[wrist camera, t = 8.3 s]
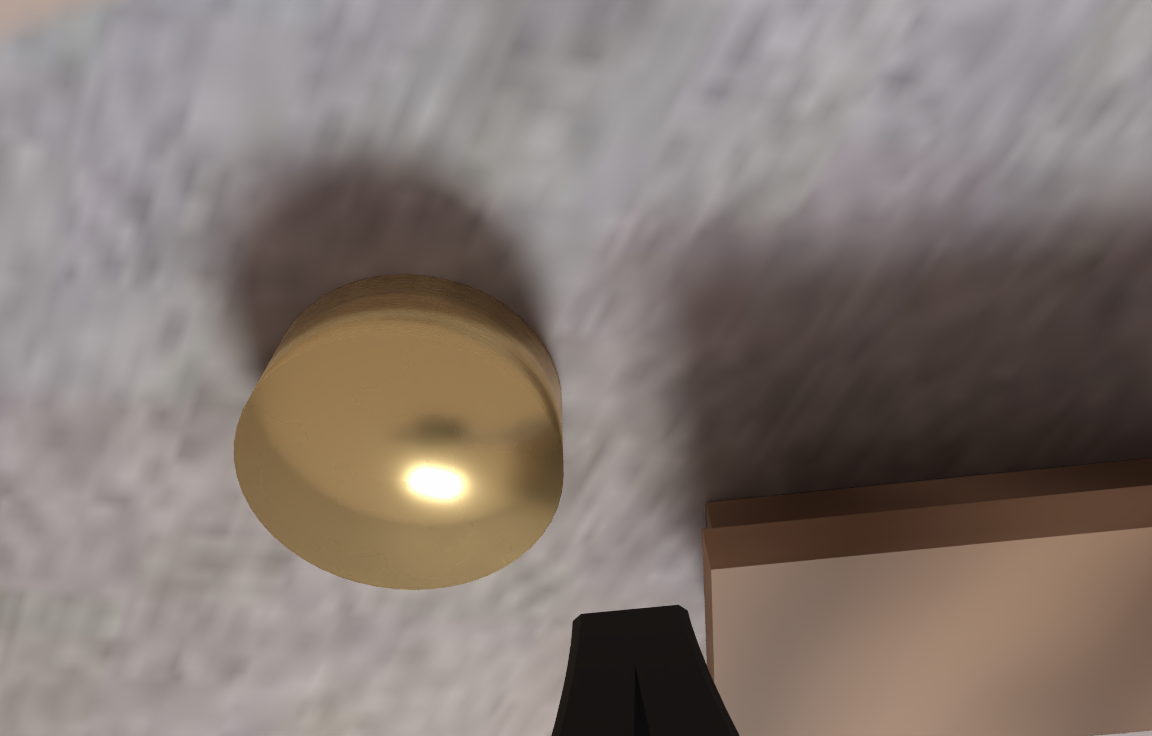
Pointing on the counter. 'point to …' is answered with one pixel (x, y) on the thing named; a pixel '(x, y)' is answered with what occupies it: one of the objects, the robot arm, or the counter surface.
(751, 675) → the walnut shelf
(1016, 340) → the counter surface
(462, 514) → the brass puck
